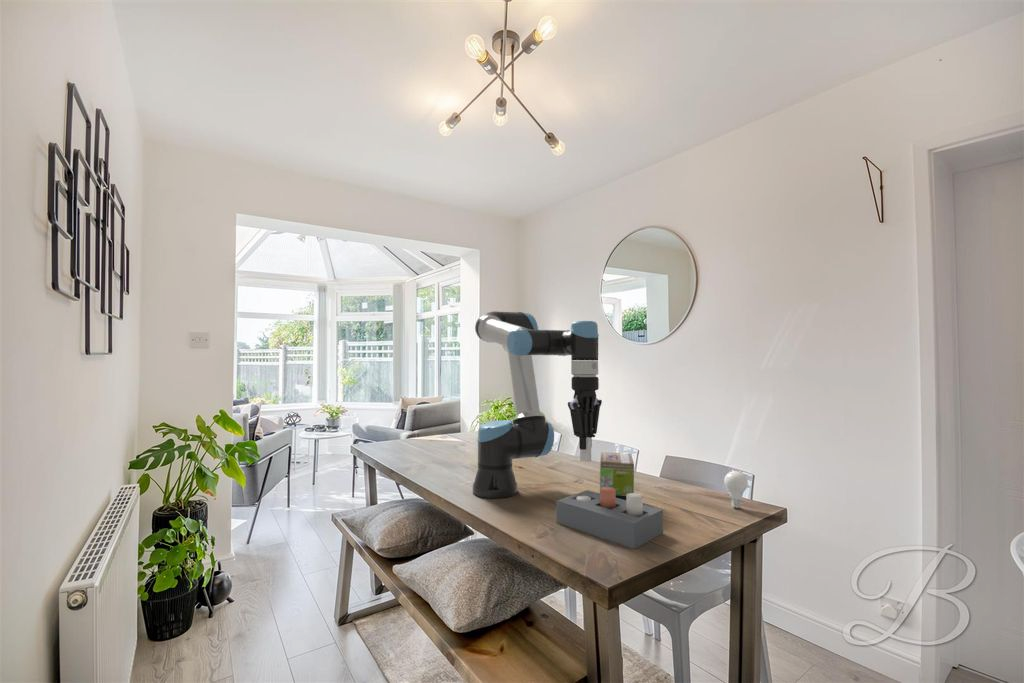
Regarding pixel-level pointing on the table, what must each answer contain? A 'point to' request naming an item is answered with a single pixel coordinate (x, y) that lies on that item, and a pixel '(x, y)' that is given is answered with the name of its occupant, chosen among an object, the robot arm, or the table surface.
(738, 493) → the lightbulb
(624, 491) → the tea box
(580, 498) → the grey plunger
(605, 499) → the brown egg
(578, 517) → the board
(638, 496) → the grey plunger
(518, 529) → the table surface
